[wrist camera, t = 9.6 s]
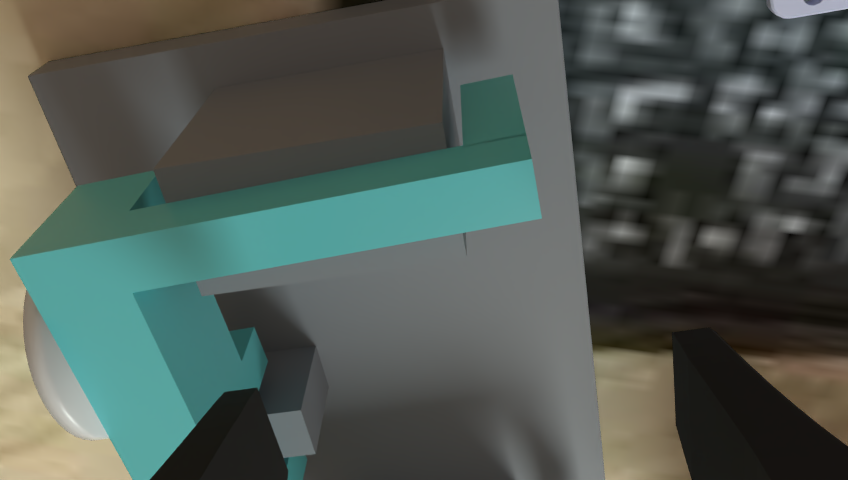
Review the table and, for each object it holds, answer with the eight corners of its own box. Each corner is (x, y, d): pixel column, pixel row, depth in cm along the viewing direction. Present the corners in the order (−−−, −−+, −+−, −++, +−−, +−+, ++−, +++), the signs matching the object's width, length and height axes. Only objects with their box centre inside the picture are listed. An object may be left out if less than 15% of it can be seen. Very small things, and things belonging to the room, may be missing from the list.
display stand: (263, 568, 30) (225, 730, 25) (48, 61, 21) (-87, 153, 15) (607, 532, 29) (642, 697, 24) (550, -30, 19) (589, 38, 14)
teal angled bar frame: (286, 585, 27) (252, 754, 22) (87, 162, 19) (-29, 282, 15) (594, 546, 26) (627, 717, 21) (512, 74, 18) (535, 176, 13)
